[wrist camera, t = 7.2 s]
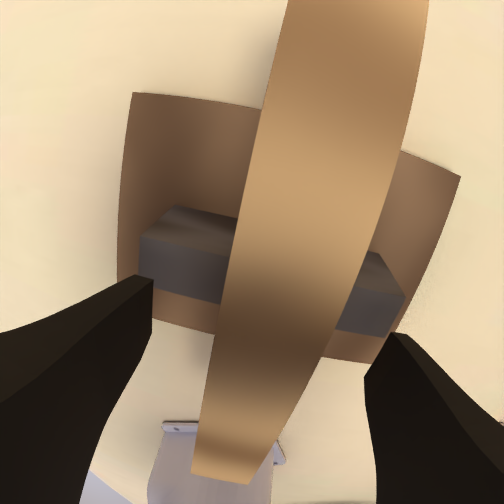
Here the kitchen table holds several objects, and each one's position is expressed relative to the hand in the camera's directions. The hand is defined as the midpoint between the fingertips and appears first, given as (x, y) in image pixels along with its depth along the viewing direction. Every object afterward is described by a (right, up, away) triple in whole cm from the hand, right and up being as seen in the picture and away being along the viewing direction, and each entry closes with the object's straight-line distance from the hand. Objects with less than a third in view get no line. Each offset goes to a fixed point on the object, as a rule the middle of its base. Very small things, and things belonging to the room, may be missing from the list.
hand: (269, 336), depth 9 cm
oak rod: (0, +1, +2) cm, 2 cm away
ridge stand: (+1, +3, +7) cm, 7 cm away
